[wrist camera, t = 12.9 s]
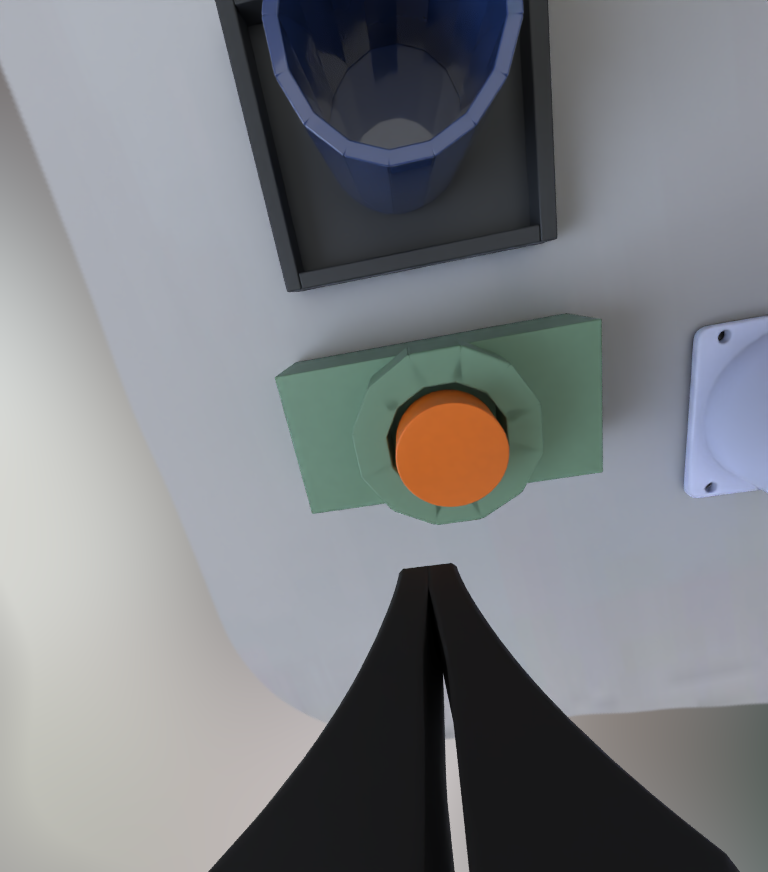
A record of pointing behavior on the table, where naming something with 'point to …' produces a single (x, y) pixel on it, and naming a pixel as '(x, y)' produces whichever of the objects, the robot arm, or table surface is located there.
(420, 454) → the button
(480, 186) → the tray
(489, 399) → the green button base
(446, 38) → the cup
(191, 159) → the table surface
